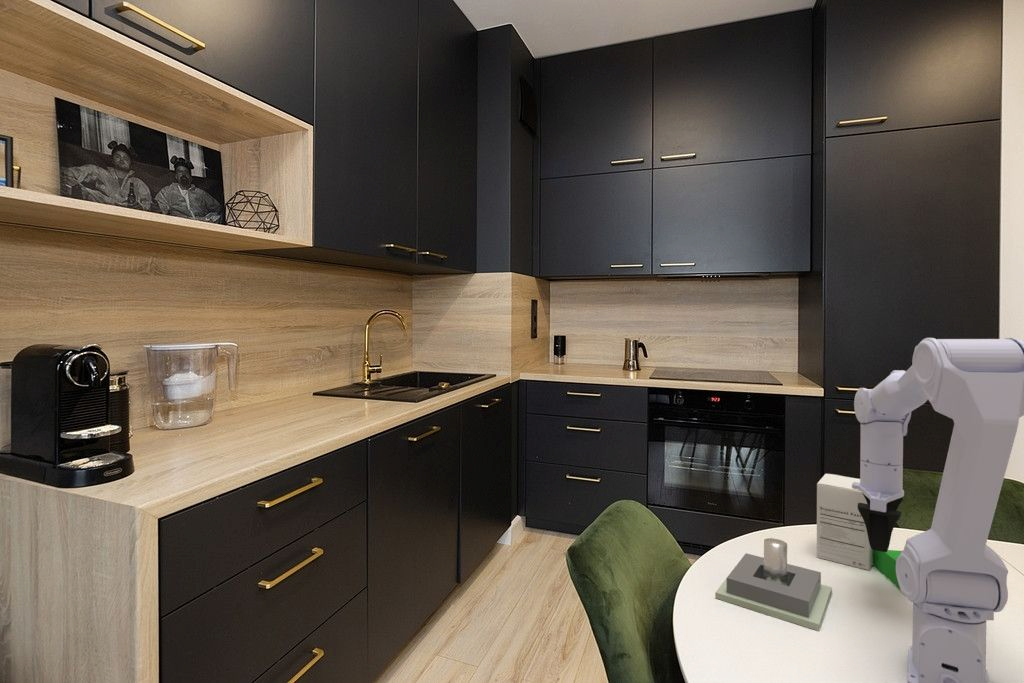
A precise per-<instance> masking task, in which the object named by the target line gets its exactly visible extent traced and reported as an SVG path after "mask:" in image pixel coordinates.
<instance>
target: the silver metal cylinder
mask: <svg viewBox="0 0 1024 683" xmlns="http://www.w3.org/2000/svg"><path fill="white" fill-rule="evenodd" d="M763 558H764V578H763V579H764V580H767V581H771V582H775V583H778V584H782V585H785V586H787V564H788V543H787V542H786V541H784V540H781V539H779V538H772V537H771V538H769V537H768V538H764V539H763Z"/></svg>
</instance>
